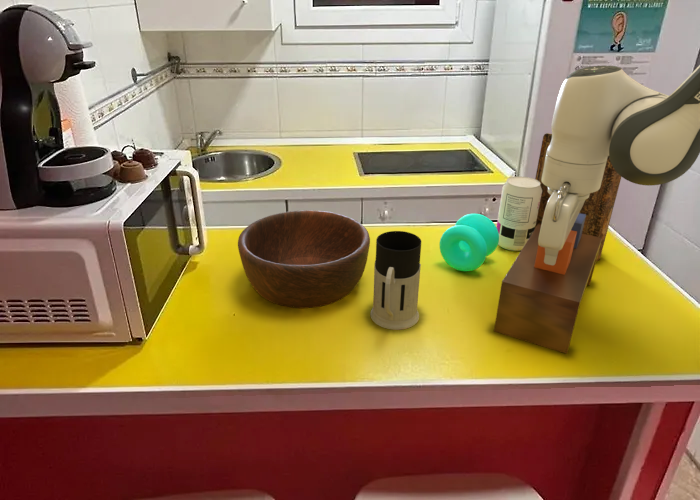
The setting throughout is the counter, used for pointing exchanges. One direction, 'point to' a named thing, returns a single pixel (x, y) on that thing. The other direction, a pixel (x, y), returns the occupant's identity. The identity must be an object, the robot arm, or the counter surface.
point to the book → (594, 206)
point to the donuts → (469, 242)
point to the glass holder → (396, 280)
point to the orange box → (562, 258)
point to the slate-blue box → (578, 228)
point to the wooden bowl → (304, 257)
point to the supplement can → (518, 211)
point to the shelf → (545, 295)
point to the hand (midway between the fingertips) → (555, 251)
